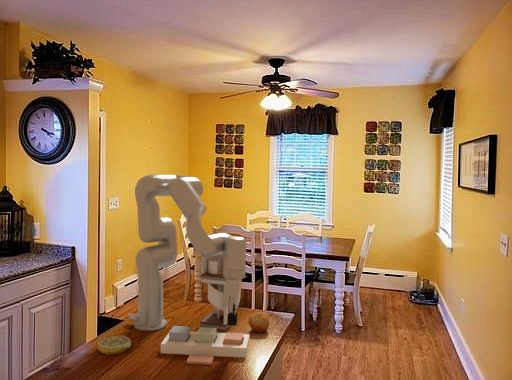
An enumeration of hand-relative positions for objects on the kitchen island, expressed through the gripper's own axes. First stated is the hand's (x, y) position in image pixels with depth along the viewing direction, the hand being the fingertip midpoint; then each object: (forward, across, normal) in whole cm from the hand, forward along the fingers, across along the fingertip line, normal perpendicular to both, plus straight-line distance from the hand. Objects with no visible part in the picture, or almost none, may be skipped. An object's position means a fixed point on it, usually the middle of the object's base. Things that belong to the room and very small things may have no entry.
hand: (232, 324), depth 148 cm
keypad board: (+9, 0, -9) cm, 12 cm away
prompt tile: (+9, +10, -9) cm, 16 cm away
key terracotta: (+7, 0, +1) cm, 7 cm away
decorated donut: (+10, +5, -40) cm, 41 cm away
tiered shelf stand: (+9, -24, -9) cm, 27 cm away
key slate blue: (+6, 0, -18) cm, 19 cm away
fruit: (+9, -18, +8) cm, 21 cm away
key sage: (+6, 0, -9) cm, 11 cm away
